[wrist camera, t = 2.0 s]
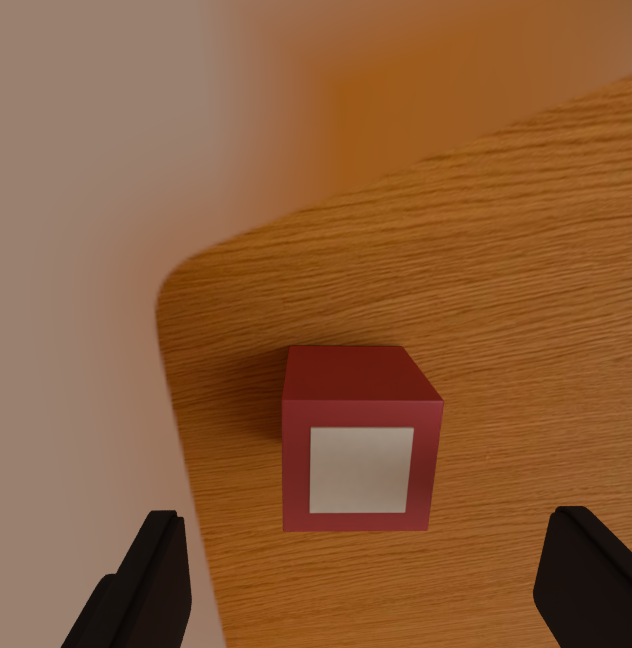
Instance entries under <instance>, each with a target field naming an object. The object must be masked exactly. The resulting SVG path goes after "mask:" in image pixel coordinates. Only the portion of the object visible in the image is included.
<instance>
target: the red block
mask: <svg viewBox="0 0 632 648" xmlns="http://www.w3.org/2000/svg"><path fill="white" fill-rule="evenodd" d="M443 406H444V400H443V399H442V398H441V396H440V395H439V394H438V392H437V391H436V390H435V389H434V387H433V386H432V385H431V383H430V382H429V381H428V379H427V378H426V377H425V375H424V374H423V373H422V372H421V370H420V369H419V368H418V366H417V365H416V364H415V362H414V361H413V360H412V358H411V357H410V356H409V355H408V353H407V352H406V351H405V349H404V348H403V347H397V346H289V352H288V359H287V366H286V373H285V380H284V387H283V394H282V491H283V531H284V532H307V531H427V530H428V522H429V515H430V507H431V499H432V491H433V483H434V476H435V468H436V460H437V452H438V445H439V437H440V429H441V421H442V414H443Z"/></svg>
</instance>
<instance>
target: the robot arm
mask: <svg viewBox="0 0 632 648" xmlns="http://www.w3.org/2000/svg"><path fill="white" fill-rule="evenodd" d="M533 598H534V602H535V605H536V607H537V609H538V611H539V612H540V614H541V616H542V617H543V619H544V621H545V622H546V624H547V626H548V627H549V629H550V630H551V632H552V634H553V635H554V637H555V639H556V640H557V642H558V644H559V645H560V647H561V648H632V552H631V551H630V550H629V549H628V548H627V547H626V546H625V545H624V544H623V543H622V542H621V541H620V540H619V539H618V538H617V537H616V536H615V535H614V534H613V533H612V532H611V531H610V530H609V529H608V528H607V527H606V526H605V525H604V524H603V523H602V522H601V521H600V520H599V519H598V518H597V517H596V516H595V515H594V514H593V513H592V512H591V511H590V510H588V509H587V508H586V507H583V506H559V507H557V508H556V510H555V513H552V514H551V516H550V519H549V524H548V528H547V532H546V537H545V541H544V546H543V550H542V554H541V559H540V563H539V567H538V572H537V576H536V581H535V585H534V589H533ZM191 603H192V596H191V585H190V575H189V565H188V555H187V544H186V536H185V524H184V518H183V517H177V512H176V511H175V510H167V511H166V510H161V511H151V512H150V513H149V514H148V516H147V518H146V519H145V521H144V523H143V525H142V527H141V528H140V530H139V532H138V534H137V536H136V538H135V540H134V541H133V543H132V545H131V547H130V549H129V551H128V552H127V554H126V556H125V558H124V560H123V562H122V564H121V565H120V567H119V569H118V571H117V573H116V574H108V575H105V576H104V577H103V578H102V579H101V580H100V582H99V583H98V584H97V586H96V588H95V590H94V591H93V593H92V594H91V596H90V598H89V600H88V601H87V603H86V605H85V607H84V608H83V610H82V612H81V614H80V615H79V617H78V619H77V620H76V622H75V624H74V626H73V627H72V629H71V631H70V632H69V634H68V636H67V638H66V639H65V641H64V643H63V644H62V646H61V648H180V646H181V643H182V640H183V636H184V633H185V629H186V626H187V623H188V619H189V616H190V611H191Z"/></svg>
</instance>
